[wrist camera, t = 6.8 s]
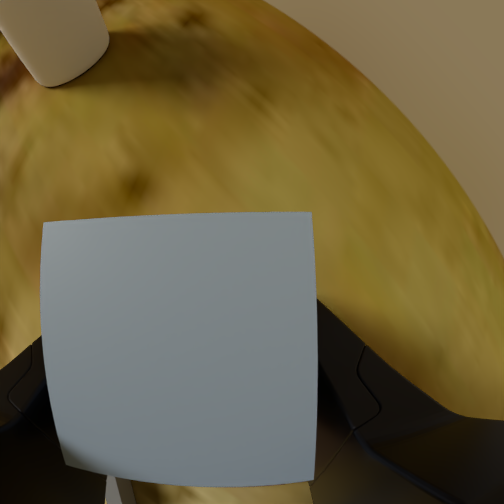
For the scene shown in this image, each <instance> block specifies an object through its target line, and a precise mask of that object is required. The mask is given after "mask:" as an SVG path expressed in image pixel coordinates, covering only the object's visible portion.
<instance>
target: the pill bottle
mask: <svg viewBox="0 0 504 504" xmlns="http://www.w3.org/2000/svg"><path fill="white" fill-rule="evenodd" d="M0 30H1V32H2V33H3V35H4V36H5V38H6V39H7V41H8V42H9V44H10V45H11V47H12V48H13V49H14V51H15V52H16V54H17V55H18V57H19V58H20V59H21V61H22V62H23V64H24V65H25V66H26V68H27V69H28V70H29V72H30V73H31V75H32V76H33V77H34V79H35V80H36V81H37V82H38V83H39V84H41V85H42V86H46V87H53V86H58V85H61V84H64V83H66V82H68V81H70V80H72V79H74V78H76V77H77V76H79V75H81V74H82V73H84V72H85V71H86V70H88V69H89V68H90V67H91V66H92V65H94V64H95V63H96V62H97V61H98V60H99V59H100V58H101V56H102V55H103V54H104V52H105V51H106V49H107V47H108V44H109V34H108V30H107V28H106V25H105V23H104V20H103V18H102V15H101V13H100V10H99V8H98V5H97V2H96V0H0Z"/></svg>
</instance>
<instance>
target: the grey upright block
mask: <svg viewBox="0 0 504 504" xmlns="http://www.w3.org/2000/svg"><path fill="white" fill-rule="evenodd" d="M40 313H41V332H42V345H43V355H44V364H45V372H46V379H47V386H48V392H49V397H50V403H51V408H52V413H53V418H54V422H55V426H56V431H57V435H58V439H59V442H60V446H61V450H62V453H63V457H64V460H65V463H66V465H68V466H72V467H75V468H79V469H83V470H87V471H91V472H95V473H99V474H104V475H109V476H114V477H119V478H124V479H130V480H136V481H143V482H150V483H159V484H168V485H180V486H197V487H248V486H265V485H277V484H287V483H295V482H303V481H310V480H314V468H315V451H316V428H317V386H318V345H317V301H316V276H315V257H314V240H313V226H312V213H311V212H237V213H197V214H170V215H147V216H128V217H111V218H96V219H81V220H68V221H56V222H44V225H43V236H42V249H41V268H40Z"/></svg>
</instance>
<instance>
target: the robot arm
mask: <svg viewBox="0 0 504 504" xmlns="http://www.w3.org/2000/svg"><path fill="white" fill-rule="evenodd" d="M316 301H317V345H318V386H317V428H316V451H315V468H314V480H310V481H308V482H309V486H310V491H311V495H312V499H313V504H504V421H502V420H490V419H480V418H471V417H465V416H461V415H459V414H456V413H454V412H452V411H450V410H448V409H446V408H445V407H443V406H442V405H441V404H439V403H438V402H437V401H435V400H434V399H432V398H431V397H430V396H428V395H427V394H426V393H424V392H423V391H422V390H420V389H419V388H418V387H416V386H415V385H414V384H412V383H411V382H410V381H408V380H407V379H406V378H405V377H403V376H402V375H401V374H400V373H398V372H397V371H396V370H395V369H393V368H392V367H391V366H390V365H388V364H387V363H386V362H385V361H384V360H383V359H382V358H381V357H379V356H378V355H377V354H376V353H375V352H374V351H373V350H372V349H371V348H370V347H369V346H367V345H366V346H365V343H364V342H363V341H362V340H361V339H360V338H359V337H358V336H357V335H356V334H355V333H354V332H352V331H351V330H350V329H349V328H348V327H347V326H346V325H345V324H344V323H343V322H342V321H341V320H340V319H339V318H337V317H336V316H335V315H334V314H333V313H332V312H331V311H330V310H329V309H328V308H327V307H326V306H325V305H323V304H322V303H321V302H320V301H319V300H318V299H317V298H316ZM106 480H107V475H104V474H99V473H95V472H91V471H87V470H83V469H79V468H75V467H72V466H68V465H66V463H65V460H64V457H63V453H62V450H61V446H60V442H59V439H58V435H57V431H56V426H55V422H54V418H53V413H52V408H51V403H50V397H49V392H48V386H47V379H46V372H45V364H44V355H43V345H42V335H41V336H40V337H39V338H38V339H37V340H35V341H34V342H33V343H32V345H29V346H28V347H27V348H26V349H25V350H24V351H23V352H21V353H20V354H19V355H18V356H17V357H16V358H14V359H13V360H12V361H11V362H10V363H8V364H7V365H6V366H5V367H3V368H2V369H1V370H0V504H105V494H106V484H107V481H106Z"/></svg>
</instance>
